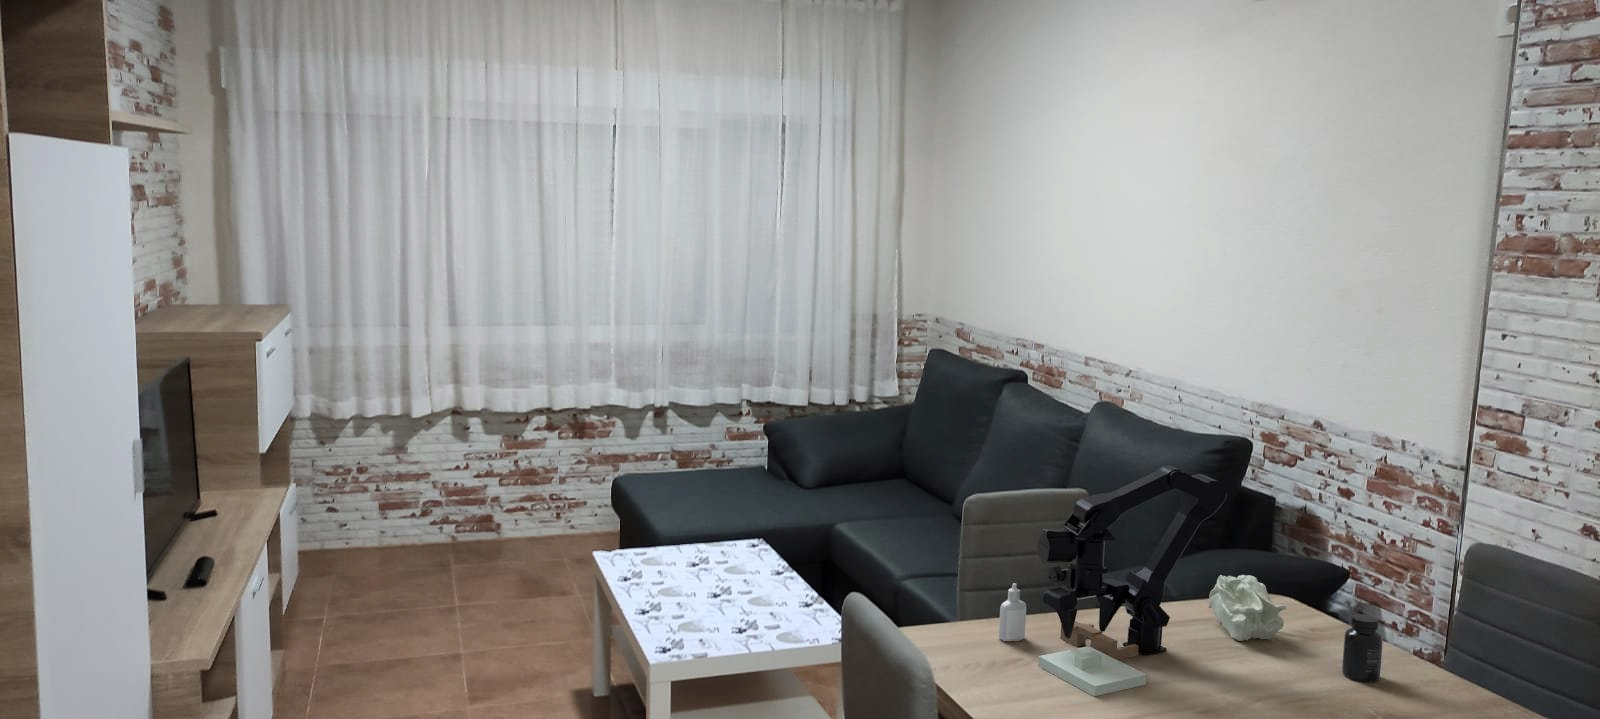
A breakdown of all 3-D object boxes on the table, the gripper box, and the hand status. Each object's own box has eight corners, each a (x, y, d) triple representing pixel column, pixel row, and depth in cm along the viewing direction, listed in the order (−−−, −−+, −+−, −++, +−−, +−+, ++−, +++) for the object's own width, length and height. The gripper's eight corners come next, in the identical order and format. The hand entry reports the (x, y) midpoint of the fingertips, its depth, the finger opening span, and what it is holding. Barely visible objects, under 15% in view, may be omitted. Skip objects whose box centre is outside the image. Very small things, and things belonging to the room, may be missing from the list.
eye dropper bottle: (1026, 643, 242) (1029, 587, 241) (999, 642, 242) (1002, 586, 241) (1023, 635, 247) (1026, 581, 245) (996, 634, 247) (999, 580, 245)
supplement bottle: (1377, 672, 231) (1382, 615, 230) (1381, 685, 225) (1387, 626, 223) (1339, 667, 234) (1344, 610, 232) (1343, 680, 227) (1348, 621, 226)
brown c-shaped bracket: (1090, 632, 249) (1091, 612, 249) (1137, 655, 237) (1139, 634, 237) (1060, 638, 245) (1061, 618, 245) (1107, 661, 233) (1108, 640, 233)
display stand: (1088, 655, 236) (1089, 635, 236) (1145, 684, 222) (1147, 663, 222) (1038, 665, 230) (1039, 645, 230) (1094, 696, 216) (1095, 674, 216)
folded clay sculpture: (1263, 669, 249) (1301, 618, 242) (1209, 655, 247) (1246, 603, 239) (1235, 610, 265) (1270, 560, 257) (1184, 597, 262) (1218, 546, 255)
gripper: (1096, 545, 247) (1092, 615, 249) (1027, 555, 238) (1023, 628, 240) (1134, 559, 238) (1129, 632, 240) (1063, 570, 229) (1059, 646, 231)
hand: (1084, 634), depth 238 cm, fingers open, 9 cm apart
